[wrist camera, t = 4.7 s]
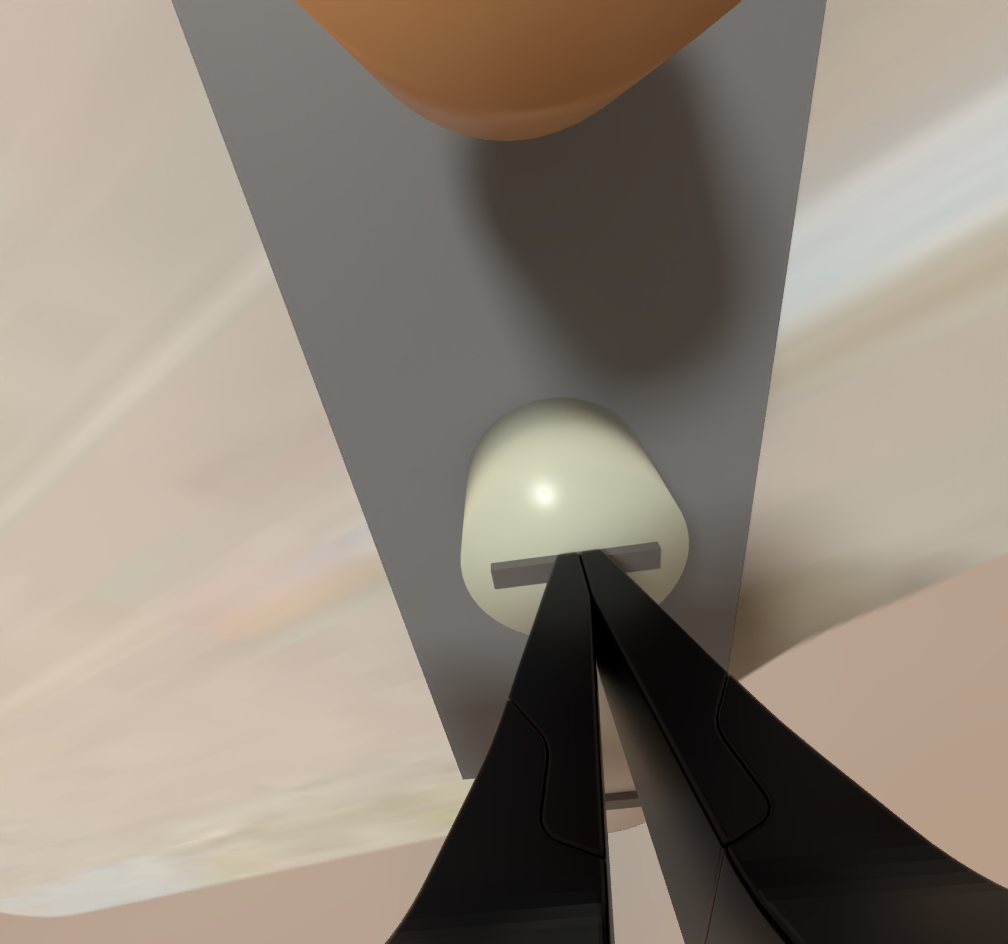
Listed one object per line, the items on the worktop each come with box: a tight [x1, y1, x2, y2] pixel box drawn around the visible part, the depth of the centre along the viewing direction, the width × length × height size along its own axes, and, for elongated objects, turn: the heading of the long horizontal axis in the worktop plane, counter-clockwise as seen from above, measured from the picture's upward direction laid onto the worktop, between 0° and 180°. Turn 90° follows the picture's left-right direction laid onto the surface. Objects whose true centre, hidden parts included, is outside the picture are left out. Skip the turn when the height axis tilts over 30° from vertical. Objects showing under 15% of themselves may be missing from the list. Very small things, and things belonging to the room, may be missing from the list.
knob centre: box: [461, 398, 689, 635], centre depth 12 cm, size 4×4×7 cm
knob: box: [596, 664, 646, 833], centre depth 16 cm, size 4×4×7 cm
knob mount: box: [172, 0, 826, 779], centre depth 13 cm, size 10×27×4 cm, turn 9°
